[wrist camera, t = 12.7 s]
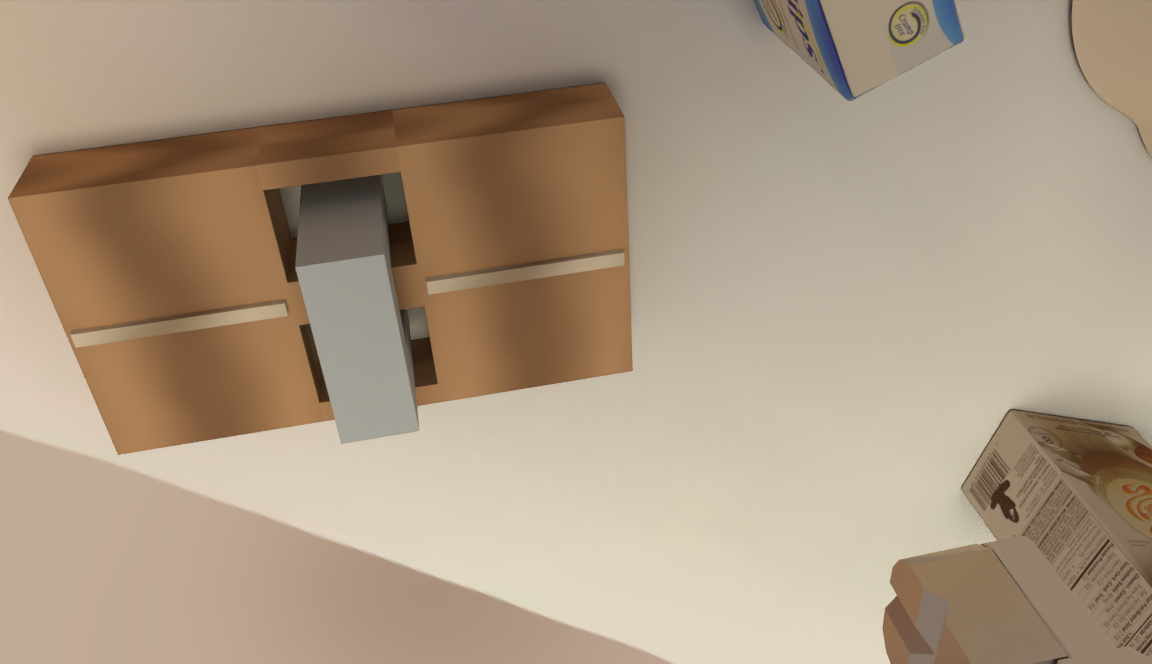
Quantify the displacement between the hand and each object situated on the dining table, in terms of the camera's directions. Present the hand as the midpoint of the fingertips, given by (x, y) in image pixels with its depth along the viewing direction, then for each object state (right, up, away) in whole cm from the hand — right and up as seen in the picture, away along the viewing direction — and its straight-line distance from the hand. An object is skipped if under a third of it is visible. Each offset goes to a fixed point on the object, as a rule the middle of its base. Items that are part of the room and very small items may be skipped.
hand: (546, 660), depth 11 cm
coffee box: (+27, -4, +48) cm, 55 cm away
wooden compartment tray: (-9, +7, +32) cm, 34 cm away
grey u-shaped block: (-9, +7, +32) cm, 34 cm away
